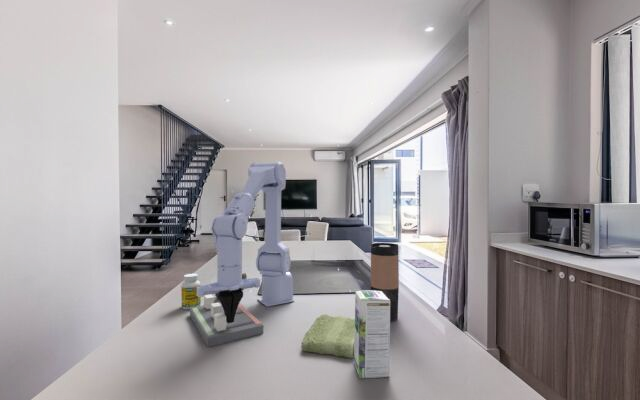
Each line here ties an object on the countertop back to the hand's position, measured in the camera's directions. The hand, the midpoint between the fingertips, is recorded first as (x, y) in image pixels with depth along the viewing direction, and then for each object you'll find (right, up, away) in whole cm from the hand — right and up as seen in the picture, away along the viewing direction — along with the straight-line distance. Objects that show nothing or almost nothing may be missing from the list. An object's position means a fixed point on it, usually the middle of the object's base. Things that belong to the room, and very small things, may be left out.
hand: (229, 321), depth 73 cm
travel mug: (+40, -4, +12) cm, 41 cm away
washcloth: (+25, -4, -1) cm, 25 cm away
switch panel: (-4, -3, +7) cm, 9 cm away
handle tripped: (-2, -1, -1) cm, 3 cm away
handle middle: (-5, -1, +6) cm, 8 cm away
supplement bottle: (-17, -4, +20) cm, 27 cm away
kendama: (-10, -4, +35) cm, 37 cm away
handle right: (-10, -1, +13) cm, 16 cm away
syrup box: (+31, -4, -14) cm, 35 cm away
